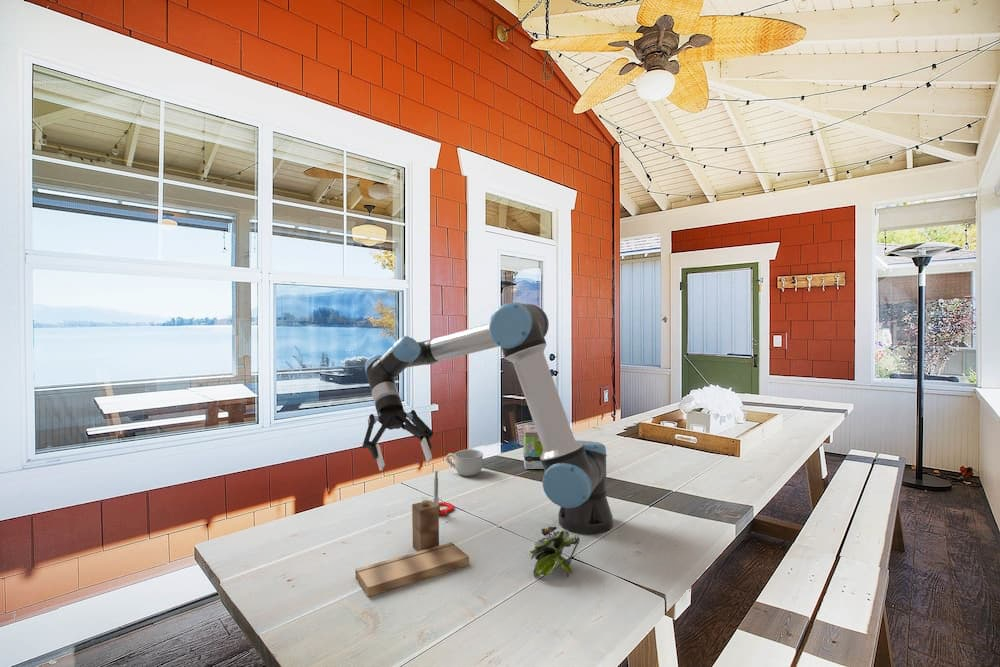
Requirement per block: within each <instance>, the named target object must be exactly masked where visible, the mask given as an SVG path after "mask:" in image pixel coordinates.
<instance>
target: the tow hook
mask: <svg viewBox="0 0 1000 667" xmlns="http://www.w3.org/2000/svg"><path fill="white" fill-rule="evenodd" d="M438 473H439V471H437V470H436V471H434V479H433V481H434V483H433V486H434V487H433V498H432V500H433V501H432V502H433V503H435V504H436V505H438V506H439V516H447V515H448V513H451V512H453V510H454V508H455V507H454V504H453V503H450V502H447V501H445V502H444V501H440V500H439V498H440V497H439V477H438ZM446 506H447V507H446ZM441 507H446V508H443V509H442V508H441Z"/></svg>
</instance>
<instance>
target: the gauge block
mask: <svg viewBox="0 0 1000 667" xmlns="http://www.w3.org/2000/svg"><path fill="white" fill-rule="evenodd" d="M411 510H412V511H411V512H412V513H411V514H412V516H411V517H412V519H411V520H412V522H411V524H412V525H411V526H412V528H411V529H412V548H413V549H414V550H415V552H418V551H422V550H425V549H429V548H433V547H436V546H440V520H439V519H440V515H439V506H438V505H436V504H435V503H433V501H432V500H430V499H429V500H428V499H424V500H422V501H421V502H417V503H412V504H411Z"/></svg>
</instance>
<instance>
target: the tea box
mask: <svg viewBox="0 0 1000 667" xmlns="http://www.w3.org/2000/svg"><path fill="white" fill-rule="evenodd" d="M542 453H543V448H542V445H541V442H540V439H539V436H538V433H537V430H536V428H535V425H534V424H524V425H523V464H524V465H523V466H524V469H525V470H527V469H544V468H543V466H542V462H541V459H540V457H541V455H542Z"/></svg>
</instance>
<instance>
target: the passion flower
mask: <svg viewBox="0 0 1000 667" xmlns="http://www.w3.org/2000/svg"><path fill="white" fill-rule="evenodd" d="M557 528H558V527H557V526H548V527H547V528H546V527H545V528H541V534H542V535H543V536H544V537H541V538H540V539H538V542H535V543H534V549H533V550H532V549H531V550H529V551H528V552H529V553H530V554H531V561H532V560H533V559H535V560H537V561H536V563H535V565H534V568H533V571H532V573H533V576H534V578H536V577H538V578H539V577H540V576H545V577H546V576H549V575H550V574H552V573H553V572H554V571H556V569H557V568H558V566H560V567H561V568H563V571H566V572H567V577H568V576H569V575H570V574H572V573H573V570H572V568H571V564H572V562H573V561H572V560H573V556H574V553H575V551H576V549H577V547H578V545H579V543H580V540H581V539H580V537H579V535H576V534H575V535H574V536H570V533H569V532H568V530H564V529H562V530H559V531H556V530H557ZM552 533H553V534H552ZM572 545H575V546H574V548H573V551H572V553H571V555H570V556H569V557H567V558H565V557H564V556H563V555H562V553H563V550H564V549H565V547H566V548H570V547H571V546H572Z"/></svg>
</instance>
